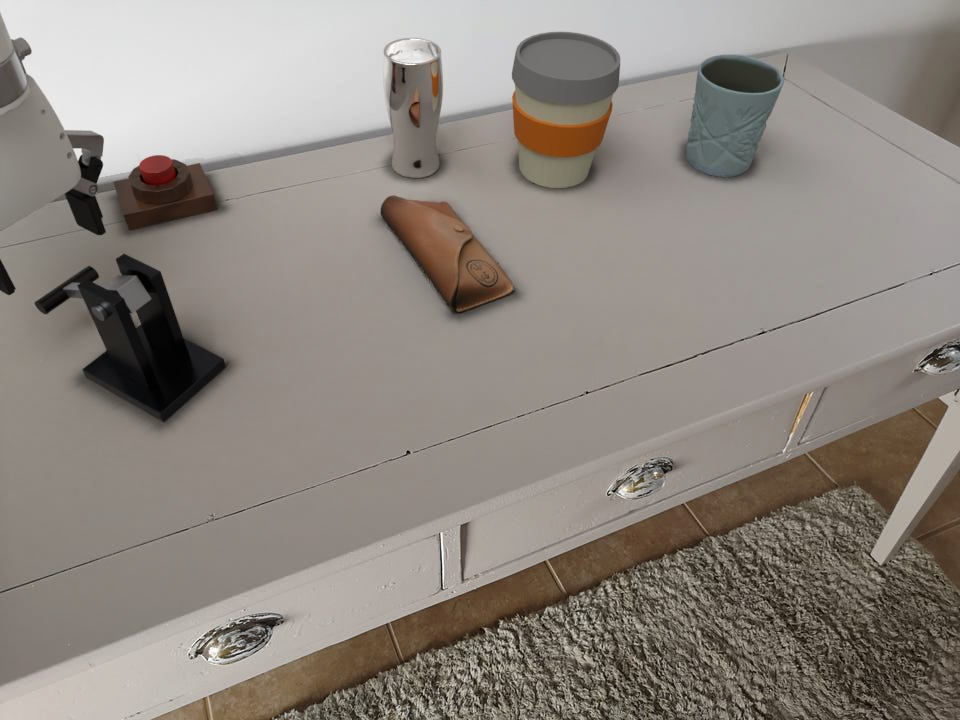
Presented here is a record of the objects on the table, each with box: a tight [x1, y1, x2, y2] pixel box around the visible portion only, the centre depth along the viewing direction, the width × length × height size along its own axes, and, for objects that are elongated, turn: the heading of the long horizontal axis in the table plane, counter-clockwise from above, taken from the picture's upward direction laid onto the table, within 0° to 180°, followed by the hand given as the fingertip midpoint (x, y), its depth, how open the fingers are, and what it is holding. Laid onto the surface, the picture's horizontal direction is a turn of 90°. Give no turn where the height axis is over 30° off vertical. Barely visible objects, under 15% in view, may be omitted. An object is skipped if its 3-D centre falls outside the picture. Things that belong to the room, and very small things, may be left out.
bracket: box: [77, 253, 227, 422], centre depth 69 cm, size 10×8×12 cm
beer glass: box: [382, 37, 444, 179], centre depth 93 cm, size 7×7×15 cm
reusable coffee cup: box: [511, 31, 621, 189], centre depth 94 cm, size 13×12×15 cm
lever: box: [34, 265, 152, 315], centre depth 69 cm, size 12×6×2 cm, turn 60°
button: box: [138, 154, 176, 185], centre depth 88 cm, size 4×4×2 cm
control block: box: [112, 158, 219, 231], centre depth 90 cm, size 10×7×4 cm
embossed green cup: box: [685, 54, 785, 178], centre depth 98 cm, size 10×10×12 cm
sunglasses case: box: [379, 194, 516, 313], centre depth 86 cm, size 18×7×7 cm
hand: (48, 257), depth 70 cm, fingers open, 9 cm apart
